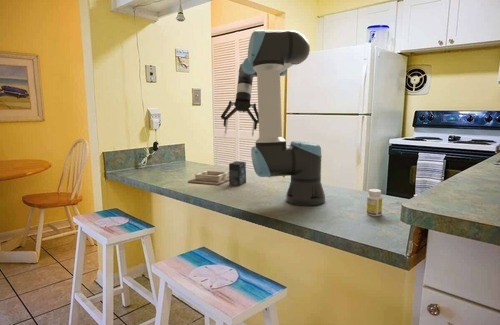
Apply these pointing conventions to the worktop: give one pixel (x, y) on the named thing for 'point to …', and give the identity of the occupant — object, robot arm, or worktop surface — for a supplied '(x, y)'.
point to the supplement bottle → (374, 202)
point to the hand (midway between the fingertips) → (239, 134)
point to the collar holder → (211, 178)
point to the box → (237, 173)
